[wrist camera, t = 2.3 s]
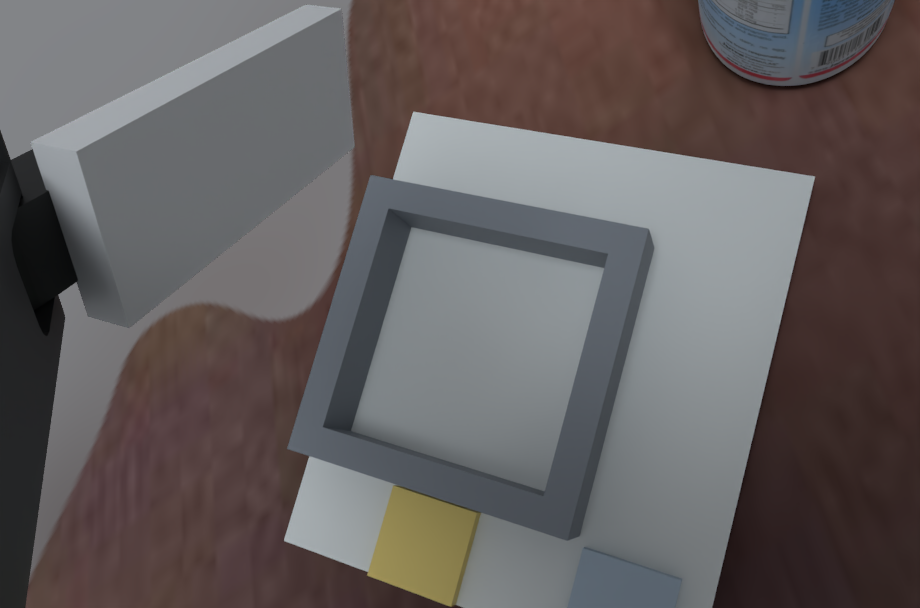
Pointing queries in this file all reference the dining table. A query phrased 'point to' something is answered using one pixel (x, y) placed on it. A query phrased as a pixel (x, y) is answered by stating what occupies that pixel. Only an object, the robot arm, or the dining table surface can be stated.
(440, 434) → the panel
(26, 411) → the robot arm
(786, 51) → the pill bottle
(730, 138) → the dining table surface
